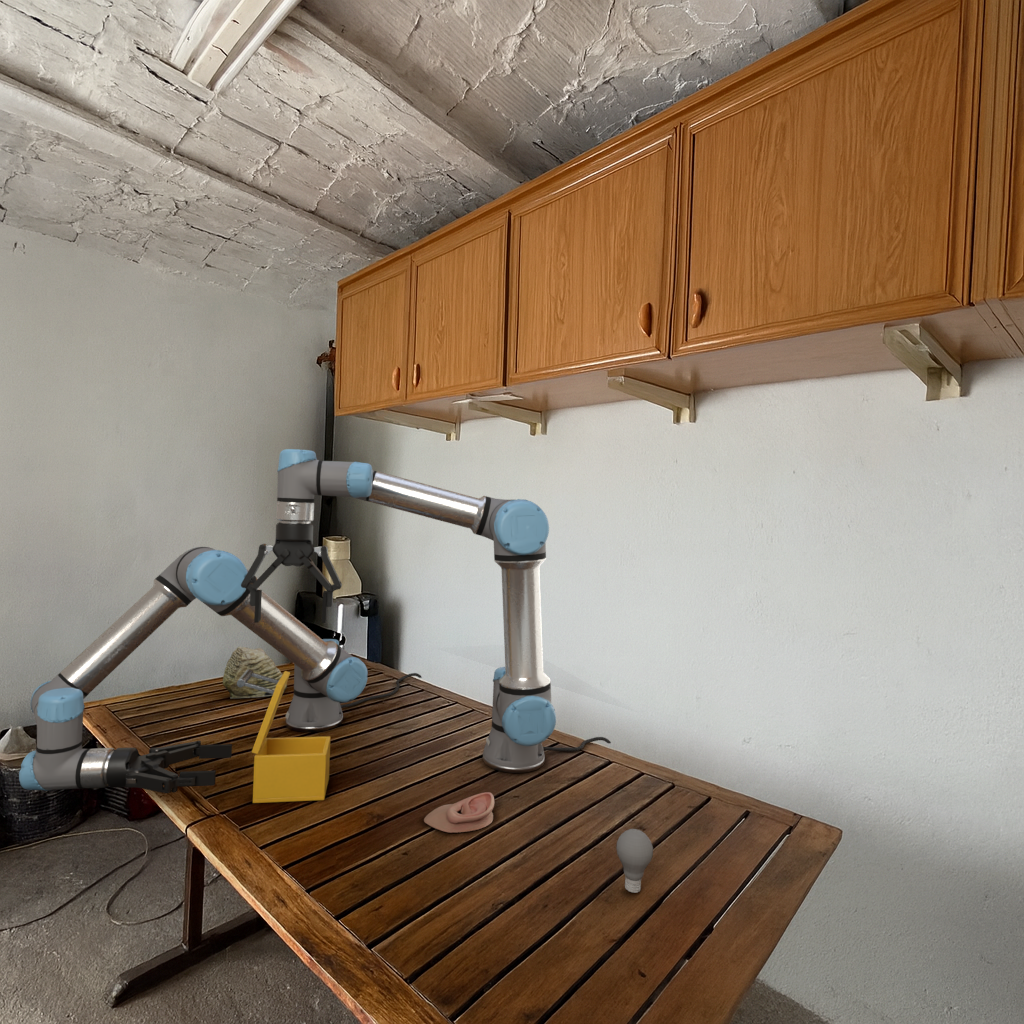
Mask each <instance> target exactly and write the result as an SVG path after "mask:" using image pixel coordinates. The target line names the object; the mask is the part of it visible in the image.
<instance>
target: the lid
mask: <svg viewBox="0 0 1024 1024" xmlns="http://www.w3.org/2000/svg"><path fill="white" fill-rule="evenodd" d="M290 676H291V672H290V671H287V670H284V671H283V672H282V677H281V678H280V680H276V679H273V678H269V677H266V676H263V675H259V674H256V673H253V671H252V670H251V669H248V670H246V671H245V673H244V674H243V675H242V676H241V677H240V679H239V680H238V681H237V686H238V687H243V686H246V687H250V688H253V689H256V690H260V691H263V692H267V693H270V694H273V695H272V696H271V699H270V701H269V704H268V707H267V709H266V712H265V715H264V718H263V720H262V722H261V726H260V728H259V731H258V734H257V735H256V739H255V742H254V744H253V747H252V749H251V753H252V754H255V755H256V754H258V752H259V750H260V748H261V747H262V745H263V743H264V741H265V739H266V738H268V735H269V732H270V729H271V727H272V724H273V721H274V718H275V715H276V713H277V710H278V707H279V705H280V702H281V699H282V697H283V694H284V693H285V691H284V689H285V686H286V685H287V684H288V681H289V678H290ZM251 677H255V678H258V679H262V680H265V681H268V682H272V683H275V684H277V685H276V688H275V690H272V689H268V688H265V687H262V686H258V685H255V684H251V683H248V680H249V679H250V678H251Z"/></svg>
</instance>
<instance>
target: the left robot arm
mask: <svg viewBox="0 0 1024 1024" xmlns="http://www.w3.org/2000/svg"><path fill="white" fill-rule="evenodd" d="M248 571H249V569H247V567H246V565H245V564H244V562H243V561H242V560H241V559H240V558H239V557H237V556H236V555H235V554H233V553H231V552H228V551H225V550H221V549H215V548H213V547H209V546H197V547H192V548H190V549H188V550H186V551H184V552H183V553H182V554H179V556H178V557H176V559H175V560H173V561H172V562H171V563H170V564H169V565H168V566H167V567H166V568H165V569H164V570H163V571H162V572H160V574H158V575H157V576H156V577H155V578H154V579H153V586H152V587H151V588H149V590H148V591H147V592H146V593H144V594H143V596H141V597H140V598H139V599H138V600H137V601H136V602H135V603H134V604H132V605H131V606H130V607H129V608H128V609H127V610H126V611H125V612H124V613H122V615H121V616H120V617H118V618H117V619H116V620H115V621H114V622H113V623H112V624H111V625H110V626H109V627H108V628H107V629H106V630H105V631H103V633H101V634H100V635H99V636H98V637H97V638H96V639H95V640H94V641H92V643H90V644H89V645H88V646H87V647H86V648H85V649H84V650H83V651H82V652H81V653H79V654H78V656H76V657H75V658H74V659H73V660H71V662H70V663H69V664H68V665H66V666H65V667H64V668H63V669H62V670H61V671H60V672H59V673H58V674H57V675H55V676H54V677H53V678H52V679H51V680H48V681H45V682H43V683H41V684H39V685H38V686H37V687H36V688H35V689H34V690H33V692H32V694H31V697H30V710H31V712H32V713H33V716H34V720H35V724H36V749H35V750H31V751H30V752H27V754H26V756H25V757H24V758H23V760H22V762H21V764H20V769H19V772H18V781H19V784H20V786H21V788H23V789H24V790H28V791H45V792H49V791H58V790H59V791H60V790H61V791H63V790H75V789H77V790H78V789H81V790H82V789H92V790H94V791H97V790H98V789H100V788H101V789H103V788H104V789H105V788H107V787H109V788H136V789H137V788H138V789H143V790H147V791H152V792H156V793H157V792H158V793H163V794H170V793H172V794H175V793H178V791H179V790H178V789H179V788H186V787H210V786H215V785H216V776H217V775H216V773H217V770H214V769H213V770H191V771H190V770H189V771H180V772H179V773H175V772H173V771H170V770H168V768H169V766H171V765H174V764H177V763H181V762H185V761H188V760H192V759H195V758H198V759H199V760H202V759H203V760H205V759H231V758H232V757H233V756H232V755H233V744H232V743H229V744H228V743H227V744H223V743H222V744H202V740H194V741H190V742H184V743H178V744H173V745H167V746H161V747H151V748H149V749H148V753H146V754H142V755H141V754H140V752H139V750H138V748H137V747H116V749H115V748H114V747H99V748H83V728H84V727H83V726H84V710H85V703H84V699H86V698H87V697H88V696H89V695H90V693H91V692H92V691H93V690H95V689H96V688H97V687H98V686H99V685H100V684H101V683H102V682H103V681H104V680H105V679H106V678H107V677H108V676H109V675H110V674H111V673H112V672H113V671H115V669H116V668H117V667H119V666H120V665H121V664H122V663H123V662H124V661H126V660H127V658H128V657H129V656H130V655H131V654H133V652H134V651H136V649H138V648H139V646H141V645H142V644H143V643H144V642H145V641H146V640H147V639H148V638H149V637H150V636H151V635H152V634H154V632H155V631H156V630H157V629H159V628H160V627H161V626H162V625H163V624H164V623H165V622H166V621H167V620H168V619H169V618H170V617H171V616H172V615H173V614H174V613H175V612H176V611H178V609H180V608H187V607H188V606H189V605H190V604H191V603H192V602H193V601H195V600H196V599H197V600H198V601H200V602H201V603H203V604H204V605H205V606H206V607H208V608H209V609H210V610H212V611H213V612H215V613H216V614H217V615H218V616H219V617H227V616H231V617H233V618H234V619H235V620H236V621H238V622H239V623H241V624H242V625H243V626H245V627H246V628H247V629H248V630H250V631H251V632H252V633H253V634H255V635H256V636H258V637H259V638H260V639H262V640H263V641H264V642H266V644H268V645H269V646H271V647H272V648H273V649H274V650H275V651H277V652H279V654H281V655H282V656H283V657H285V658H286V659H288V661H290V662H291V663H293V664H294V672H293V695H292V696H293V697H292V699H291V702H290V704H289V708H288V710H287V711H286V714H285V716H284V718H285V726H286V728H287V729H289V730H291V731H294V732H295V731H296V732H301V733H316V732H325V731H329V730H332V729H335V728H337V727H339V726H340V725H342V723H343V722H344V714H343V709H345V708H352V707H354V706H357V705H360V704H362V703H365V702H367V701H371V700H377V699H383V698H387V697H390V696H392V695H394V694H396V693H397V692H398V690H399V689H400V686H401V683H400V682H402V681H403V680H405V679H408V678H410V677H417V678H418V679H422V678H423V677H422V675H421V674H419V673H417V672H411V673H408V674H406V675H403V676H402V677H399V678H398V679H397V680H396V681H395V683H396V686H395V688H394V689H393V690H392V691H390V692H387V693H383V694H377V695H371V696H367V697H363V698H360V699H358V700H356V701H354V700H355V699H357V698H358V697H359V696H360V695H362V693H363V691H364V689H365V687H366V685H367V682H368V675H369V673H368V672H369V671H368V668H367V665H366V664H365V662H363V661H362V659H360V658H359V657H356V656H353V655H352V654H350V653H349V652H347V650H346V649H344V648H343V647H341V646H340V641H339V640H338V639H336V638H323V639H322V638H321V637H320V636H319V635H317V634H316V633H315V632H314V631H312V630H311V629H310V628H308V626H307V625H305V624H304V623H302V622H301V621H300V620H299V619H297V617H295V616H294V615H293V614H292V613H290V612H289V611H288V610H287V609H285V608H284V607H283V606H282V605H281V604H280V603H278V602H277V601H276V600H274V598H272V597H271V596H270V595H269V594H267V593H266V592H265V591H264V590H262V589H261V588H260V586H259V587H258V590H262V598H261V620H260V621H259V622H258V623H254V618H255V606H251V605H250V590H249V589H246V588H242V587H241V583H242V581H243V580H244V578H245V576H246V575H247V573H248ZM257 579H258V577H257V576H256V575H254V577H253V579H252V581H251V583H254V582H255V581H256V580H257ZM352 701H353V702H352ZM345 703H346V704H345Z"/></svg>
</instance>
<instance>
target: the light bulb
mask: <svg viewBox="0 0 1024 1024" xmlns="http://www.w3.org/2000/svg"><path fill="white" fill-rule="evenodd" d="M615 849H616V854H617V857H618V859H619V861H620V863H621V865H622V867H623V873H624V874H623V875H624V876H625V878H624V888H625V890H627V891H628V892H630V893H634V894H635V893H639V892H640V891H641V889H642V887H641V886H642V879H643V877H644V875H645V871H646V868H647V867H648V866H649V864H650V863H651V861H652V859H653V855H654V847H653V843H652V841H651V838H649V836H648V835H647V834H646V833H645V832H643V831H642V830H641V829H636V828H629V829H627V830H625V831H623V832H622V833H621V834H620V835H619V837H618V839H617V841H616V847H615Z"/></svg>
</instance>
